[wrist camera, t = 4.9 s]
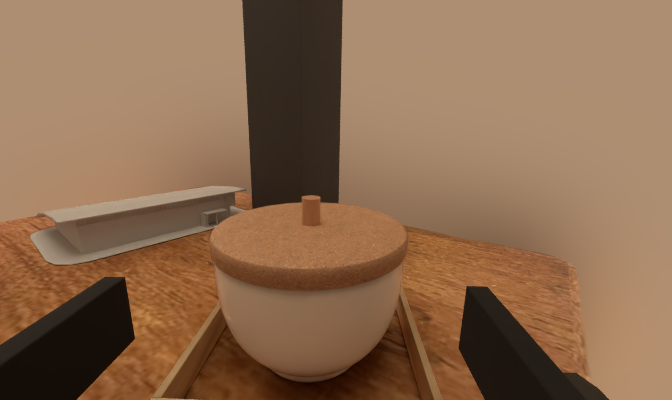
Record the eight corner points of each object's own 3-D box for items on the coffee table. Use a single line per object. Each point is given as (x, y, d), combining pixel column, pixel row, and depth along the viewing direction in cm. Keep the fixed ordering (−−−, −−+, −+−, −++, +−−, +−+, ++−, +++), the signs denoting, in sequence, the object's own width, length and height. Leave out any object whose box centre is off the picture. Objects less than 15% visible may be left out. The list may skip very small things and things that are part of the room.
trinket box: (179, 361, 18) (160, 202, 15) (298, 283, 27) (297, 174, 24) (339, 473, 12) (345, 252, 10) (422, 327, 21) (435, 192, 19)
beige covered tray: (261, 215, 45) (260, 189, 44) (52, 271, 28) (43, 229, 27) (206, 198, 55) (205, 176, 54) (25, 231, 37) (18, 200, 36)
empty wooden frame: (396, 292, 25) (397, 272, 25) (444, 450, 13) (449, 416, 13) (243, 288, 26) (242, 268, 25) (151, 439, 13) (145, 405, 13)
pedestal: (338, 222, 43) (344, -90, 34) (302, 240, 36) (299, -142, 27) (292, 213, 47) (288, -68, 38) (253, 227, 40) (236, -109, 31)
